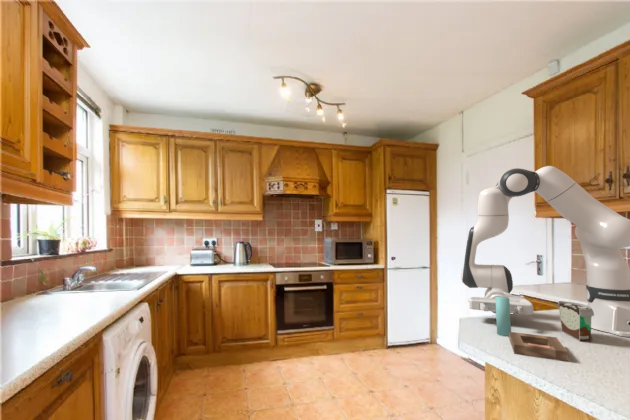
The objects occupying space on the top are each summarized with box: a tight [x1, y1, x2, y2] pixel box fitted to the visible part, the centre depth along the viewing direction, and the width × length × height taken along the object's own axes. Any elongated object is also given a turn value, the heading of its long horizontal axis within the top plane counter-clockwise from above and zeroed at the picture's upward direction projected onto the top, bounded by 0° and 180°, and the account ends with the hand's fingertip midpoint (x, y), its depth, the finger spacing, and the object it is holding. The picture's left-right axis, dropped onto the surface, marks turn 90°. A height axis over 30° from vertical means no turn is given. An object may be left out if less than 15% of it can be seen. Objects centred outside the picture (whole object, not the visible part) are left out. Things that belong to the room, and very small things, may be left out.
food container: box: [557, 300, 594, 342], centre depth 98 cm, size 12×6×10 cm, turn 168°
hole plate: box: [508, 331, 569, 362], centre depth 88 cm, size 12×12×3 cm
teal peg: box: [495, 297, 512, 337], centre depth 101 cm, size 4×4×12 cm
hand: (501, 310), depth 107 cm, fingers open, 8 cm apart
